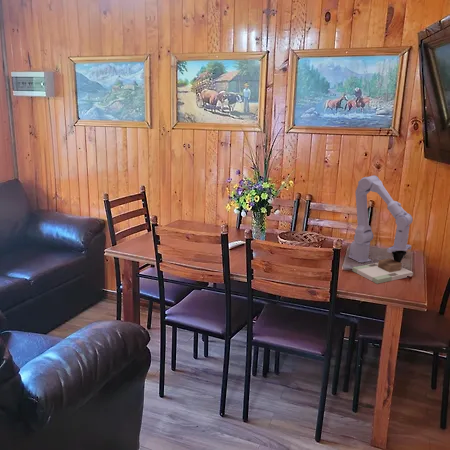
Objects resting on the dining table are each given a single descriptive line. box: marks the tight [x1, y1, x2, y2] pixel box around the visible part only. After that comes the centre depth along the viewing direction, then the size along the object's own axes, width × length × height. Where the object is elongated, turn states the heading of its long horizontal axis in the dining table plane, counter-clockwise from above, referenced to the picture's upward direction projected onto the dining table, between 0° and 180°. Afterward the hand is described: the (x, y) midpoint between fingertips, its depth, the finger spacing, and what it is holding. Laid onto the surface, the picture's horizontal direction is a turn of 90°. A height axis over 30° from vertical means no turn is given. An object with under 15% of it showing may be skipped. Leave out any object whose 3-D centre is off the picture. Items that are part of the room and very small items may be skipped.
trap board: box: [352, 261, 414, 285], centre depth 214 cm, size 16×24×2 cm
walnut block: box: [377, 258, 403, 272], centre depth 215 cm, size 8×8×4 cm
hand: (396, 264), depth 218 cm, fingers closed
